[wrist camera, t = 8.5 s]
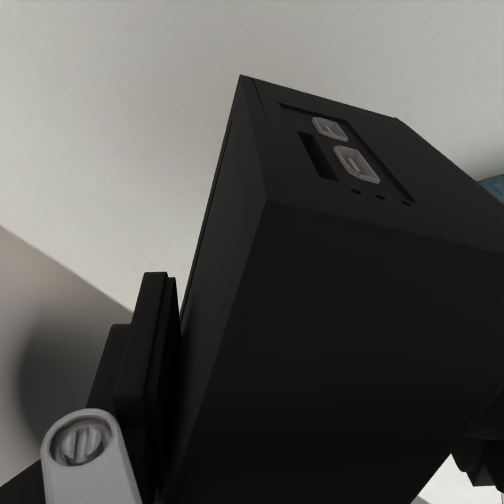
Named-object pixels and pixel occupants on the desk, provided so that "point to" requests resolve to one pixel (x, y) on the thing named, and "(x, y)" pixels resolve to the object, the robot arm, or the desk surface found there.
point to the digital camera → (334, 311)
